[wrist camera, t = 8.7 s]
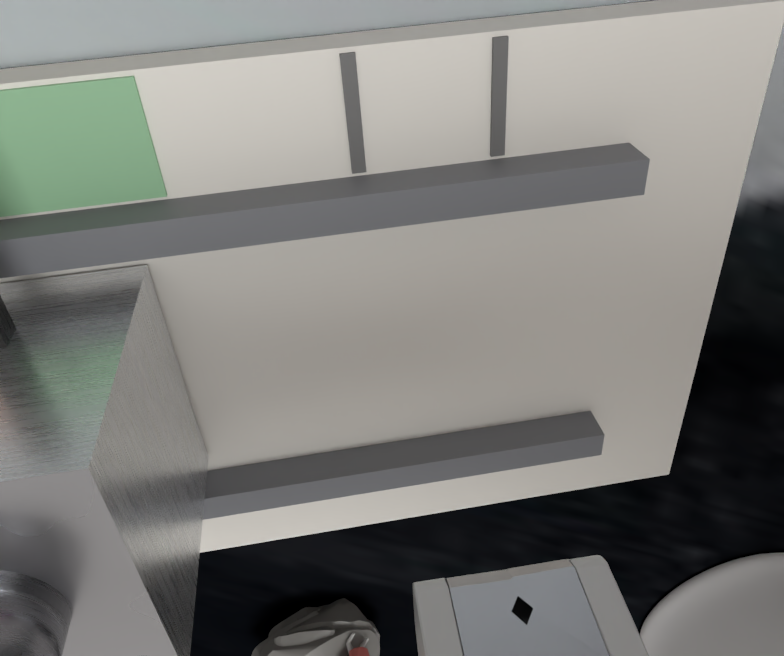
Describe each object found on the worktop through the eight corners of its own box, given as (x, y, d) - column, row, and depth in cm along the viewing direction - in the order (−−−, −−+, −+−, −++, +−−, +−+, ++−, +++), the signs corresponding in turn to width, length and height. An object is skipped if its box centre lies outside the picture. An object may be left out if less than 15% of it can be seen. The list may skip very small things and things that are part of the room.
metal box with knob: (103, 129, 13) (-28, 356, 7) (208, 457, 18) (181, 741, 12) (-173, 160, 13) (-552, 429, 7) (17, 487, 18) (-105, 796, 12)
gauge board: (754, -11, 15) (1079, 82, 9) (651, 447, 23) (784, 652, 17) (-460, 116, 13) (-1086, 346, 7) (-95, 569, 21) (-236, 849, 15)
